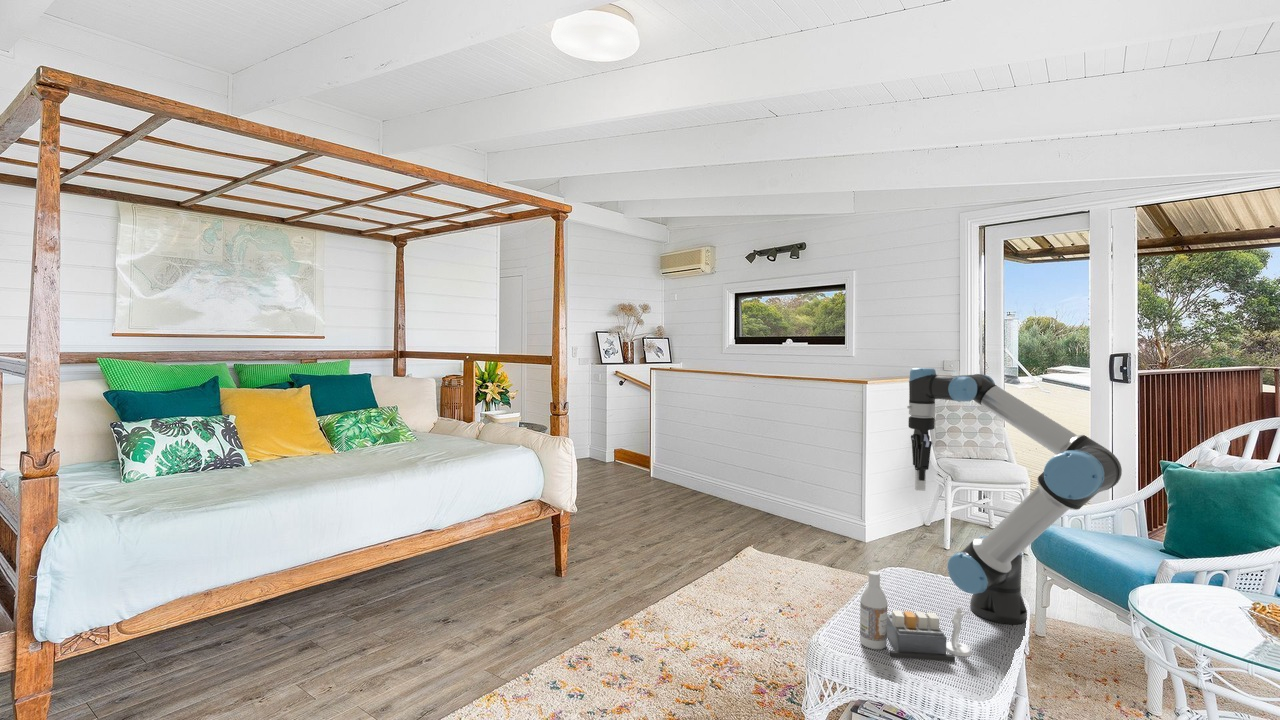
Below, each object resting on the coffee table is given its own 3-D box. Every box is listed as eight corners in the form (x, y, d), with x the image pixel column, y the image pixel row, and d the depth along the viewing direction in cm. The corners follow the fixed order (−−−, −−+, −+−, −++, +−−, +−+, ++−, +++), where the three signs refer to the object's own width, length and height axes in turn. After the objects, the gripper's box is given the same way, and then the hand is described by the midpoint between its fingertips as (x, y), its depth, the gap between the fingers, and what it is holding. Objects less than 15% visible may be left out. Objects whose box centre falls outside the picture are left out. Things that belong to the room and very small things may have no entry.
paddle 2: (911, 622, 169) (911, 611, 168) (915, 628, 165) (915, 617, 165) (903, 621, 169) (903, 611, 169) (907, 627, 165) (907, 616, 165)
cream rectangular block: (934, 623, 168) (934, 612, 168) (939, 629, 164) (939, 618, 164) (926, 623, 168) (926, 612, 168) (930, 629, 165) (930, 618, 164)
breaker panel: (930, 637, 172) (930, 614, 172) (945, 659, 160) (946, 635, 160) (886, 634, 174) (886, 611, 173) (898, 656, 162) (898, 632, 162)
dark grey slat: (953, 659, 161) (953, 654, 161) (954, 661, 159) (954, 656, 159) (889, 654, 163) (889, 650, 163) (891, 657, 161) (891, 652, 161)
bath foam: (876, 652, 164) (877, 579, 163) (854, 642, 169) (855, 571, 169) (891, 645, 167) (893, 574, 167) (870, 635, 173) (871, 566, 172)
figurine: (964, 659, 161) (965, 614, 160) (937, 648, 166) (938, 605, 166) (976, 651, 165) (977, 607, 164) (950, 640, 171) (951, 598, 170)
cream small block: (900, 621, 169) (900, 610, 169) (904, 627, 165) (904, 616, 165) (892, 620, 169) (892, 610, 169) (895, 626, 166) (895, 616, 166)
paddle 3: (923, 622, 168) (923, 612, 168) (927, 628, 165) (927, 617, 165) (914, 622, 168) (914, 611, 168) (918, 628, 165) (919, 617, 165)
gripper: (903, 413, 200) (901, 484, 201) (915, 418, 187) (914, 494, 188) (927, 414, 199) (925, 485, 200) (941, 419, 186) (939, 495, 187)
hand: (920, 489), depth 194 cm, fingers closed
